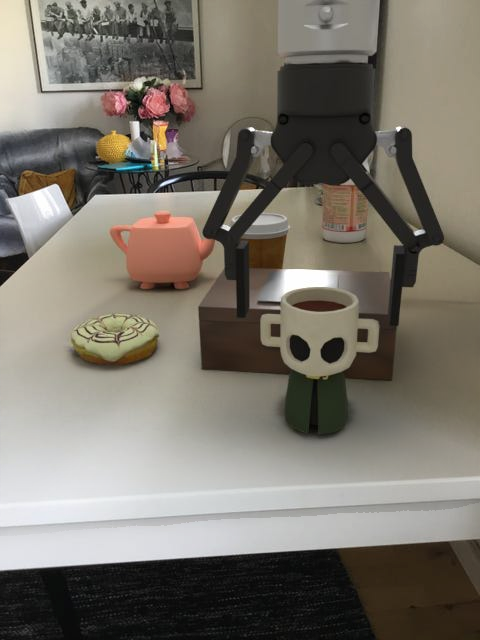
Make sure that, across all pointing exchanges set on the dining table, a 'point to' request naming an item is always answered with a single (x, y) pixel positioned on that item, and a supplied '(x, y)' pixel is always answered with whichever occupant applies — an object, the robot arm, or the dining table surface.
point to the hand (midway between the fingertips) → (316, 316)
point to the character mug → (318, 353)
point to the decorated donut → (115, 338)
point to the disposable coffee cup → (266, 240)
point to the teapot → (163, 249)
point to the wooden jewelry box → (265, 298)
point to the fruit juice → (344, 212)
